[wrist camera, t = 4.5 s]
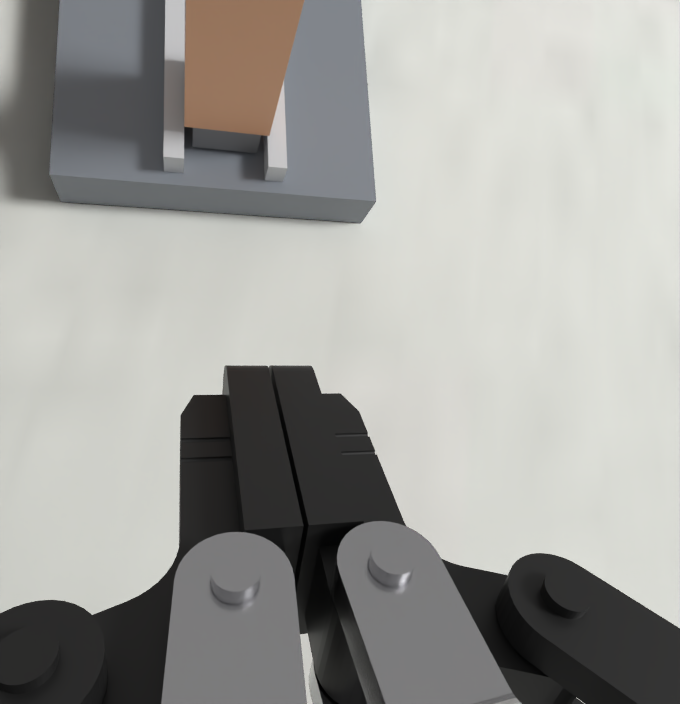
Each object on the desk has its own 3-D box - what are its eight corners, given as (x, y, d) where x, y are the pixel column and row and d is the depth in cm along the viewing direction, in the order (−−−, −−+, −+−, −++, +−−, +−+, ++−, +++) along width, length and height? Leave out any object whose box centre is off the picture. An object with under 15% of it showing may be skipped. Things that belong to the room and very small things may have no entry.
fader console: (60, 201, 21) (42, 158, 19) (78, -132, 25) (66, -211, 22) (361, 222, 25) (384, 189, 22) (340, -75, 28) (358, -137, 25)
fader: (164, 144, 21) (152, -127, 12) (165, 73, 21) (154, -238, 12) (282, 155, 22) (356, -82, 13) (280, 88, 23) (349, -184, 13)
